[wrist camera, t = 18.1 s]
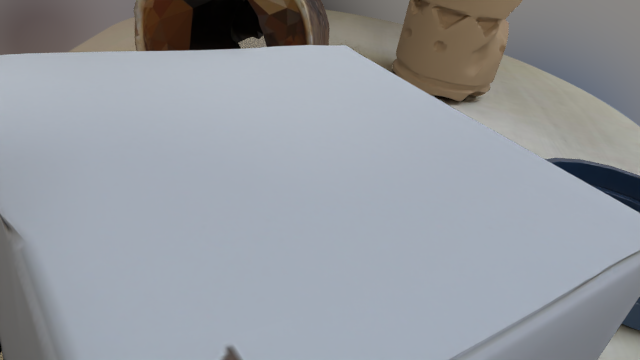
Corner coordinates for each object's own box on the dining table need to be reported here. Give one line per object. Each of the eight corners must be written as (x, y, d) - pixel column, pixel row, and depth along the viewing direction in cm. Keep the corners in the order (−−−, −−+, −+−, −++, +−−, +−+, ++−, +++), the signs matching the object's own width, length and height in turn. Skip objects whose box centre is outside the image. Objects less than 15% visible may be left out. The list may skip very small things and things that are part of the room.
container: (417, 103, 60) (467, -66, 51) (375, 63, 70) (411, -84, 61) (506, 107, 64) (567, -48, 55) (455, 69, 74) (499, -68, 65)
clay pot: (349, -33, 60) (326, -55, 37) (338, 99, 65) (311, 153, 42) (224, -43, 62) (124, -70, 38) (222, 87, 67) (133, 134, 43)
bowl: (769, 305, 38) (804, 264, 36) (647, 373, 30) (685, 325, 28) (584, 186, 50) (603, 150, 47) (460, 212, 41) (476, 169, 39)
